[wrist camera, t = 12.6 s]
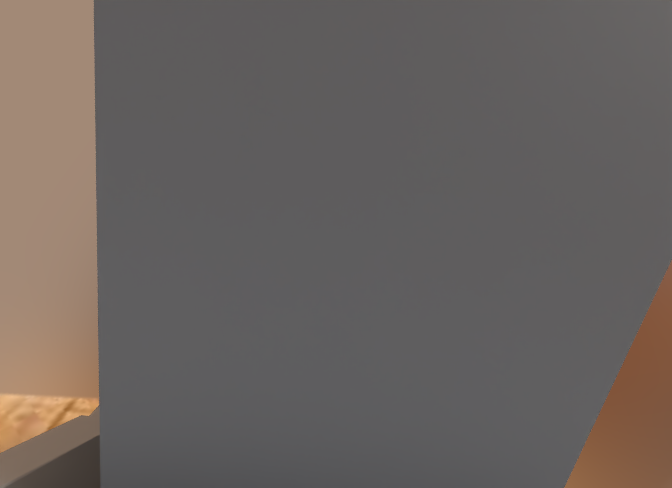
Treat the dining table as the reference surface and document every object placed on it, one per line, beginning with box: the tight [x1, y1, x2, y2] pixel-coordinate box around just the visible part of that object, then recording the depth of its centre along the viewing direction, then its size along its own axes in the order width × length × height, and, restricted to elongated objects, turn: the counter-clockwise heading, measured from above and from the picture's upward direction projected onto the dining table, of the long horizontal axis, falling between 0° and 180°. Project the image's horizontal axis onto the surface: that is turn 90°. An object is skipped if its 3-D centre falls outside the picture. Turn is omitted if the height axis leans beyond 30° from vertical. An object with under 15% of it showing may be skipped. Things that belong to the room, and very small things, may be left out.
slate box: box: [94, 0, 672, 488], centre depth 7 cm, size 6×6×20 cm
